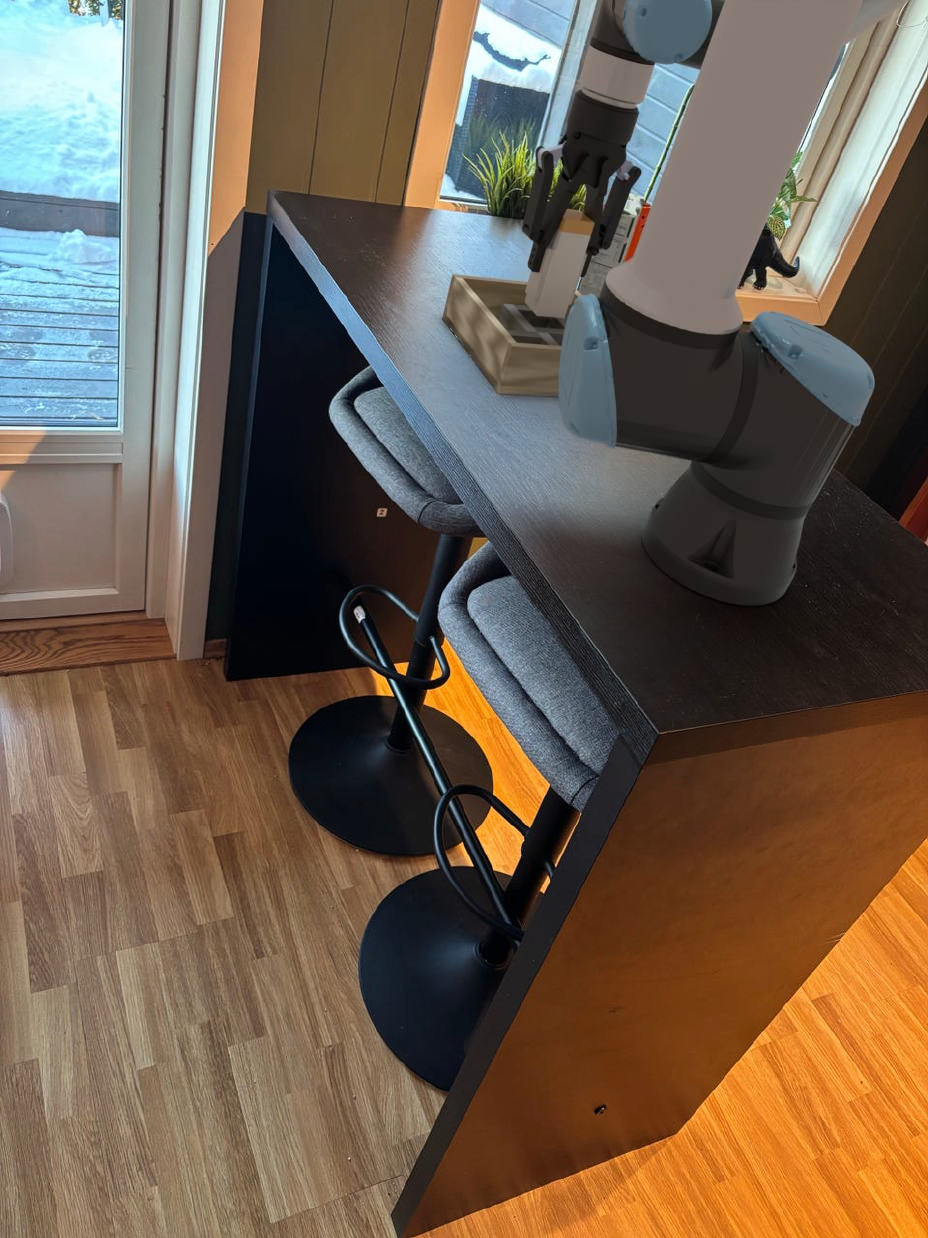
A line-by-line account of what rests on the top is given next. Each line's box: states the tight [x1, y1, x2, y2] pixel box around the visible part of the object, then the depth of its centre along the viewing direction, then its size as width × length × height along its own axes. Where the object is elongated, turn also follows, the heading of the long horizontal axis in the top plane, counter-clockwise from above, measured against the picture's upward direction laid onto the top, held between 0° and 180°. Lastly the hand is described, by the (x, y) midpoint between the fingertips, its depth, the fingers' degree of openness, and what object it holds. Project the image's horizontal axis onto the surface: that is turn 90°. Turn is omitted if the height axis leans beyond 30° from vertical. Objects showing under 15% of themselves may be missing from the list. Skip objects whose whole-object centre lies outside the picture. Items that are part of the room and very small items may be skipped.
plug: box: [525, 208, 595, 318], centre depth 118 cm, size 4×4×12 cm
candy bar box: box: [576, 191, 646, 297], centre depth 135 cm, size 11×5×16 cm, turn 164°
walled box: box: [441, 273, 581, 398], centre depth 120 cm, size 20×18×6 cm
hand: (548, 297), depth 121 cm, fingers closed on plug, 4 cm apart
